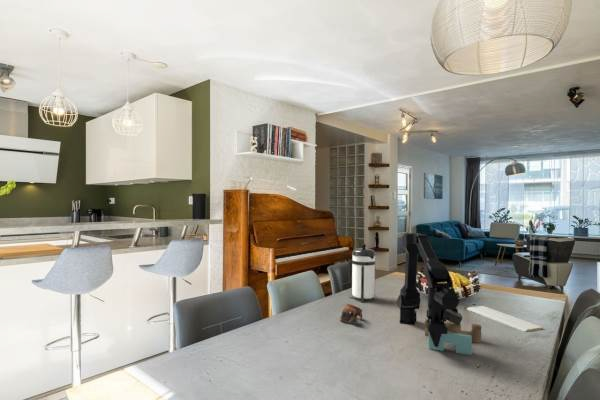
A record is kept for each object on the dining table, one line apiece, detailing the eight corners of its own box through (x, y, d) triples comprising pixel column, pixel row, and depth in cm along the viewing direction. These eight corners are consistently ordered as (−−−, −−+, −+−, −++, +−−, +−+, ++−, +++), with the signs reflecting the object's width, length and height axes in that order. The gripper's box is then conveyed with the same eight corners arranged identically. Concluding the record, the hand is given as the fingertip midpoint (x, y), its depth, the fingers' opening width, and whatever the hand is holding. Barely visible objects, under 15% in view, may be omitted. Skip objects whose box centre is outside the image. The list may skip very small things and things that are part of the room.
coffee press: (378, 296, 195) (379, 242, 195) (375, 304, 180) (376, 246, 180) (348, 293, 201) (348, 241, 201) (342, 300, 186) (343, 244, 186)
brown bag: (335, 319, 157) (342, 302, 160) (353, 328, 158) (360, 310, 161) (344, 321, 146) (351, 302, 149) (364, 330, 147) (371, 312, 149)
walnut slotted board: (425, 335, 138) (425, 320, 138) (424, 333, 140) (425, 318, 140) (481, 342, 132) (481, 326, 132) (480, 340, 134) (480, 324, 134)
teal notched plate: (428, 349, 125) (428, 332, 125) (428, 346, 128) (428, 329, 128) (471, 355, 121) (471, 337, 121) (470, 352, 123) (470, 335, 123)
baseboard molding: (521, 333, 143) (542, 330, 147) (522, 326, 143) (542, 323, 147) (463, 310, 173) (482, 308, 177) (463, 304, 173) (482, 303, 177)
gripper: (464, 311, 114) (463, 358, 114) (458, 296, 132) (457, 338, 132) (428, 307, 118) (427, 353, 118) (426, 294, 136) (426, 334, 136)
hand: (436, 344), depth 126 cm, fingers open, 4 cm apart
